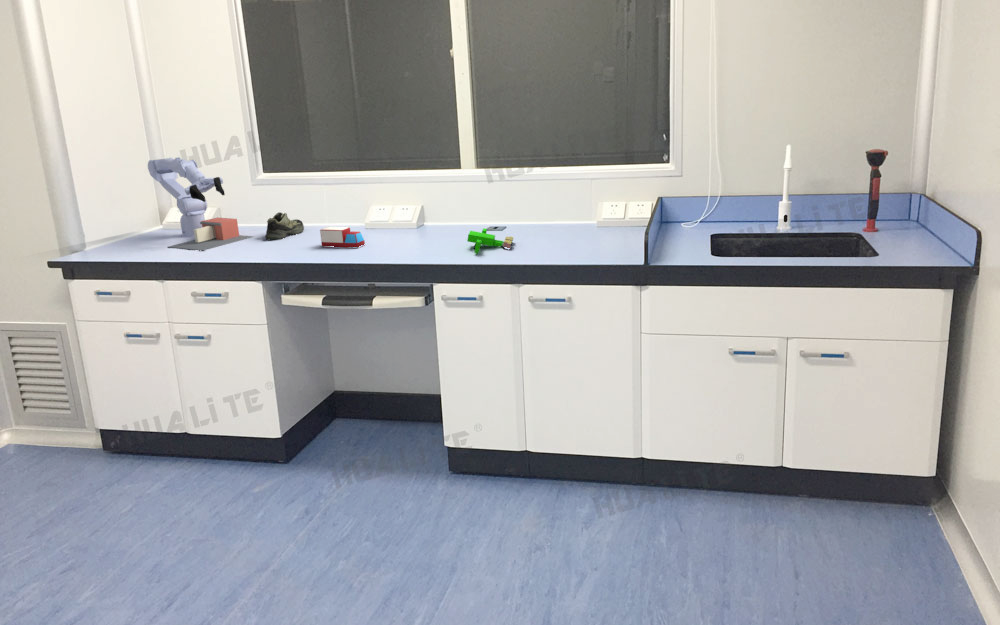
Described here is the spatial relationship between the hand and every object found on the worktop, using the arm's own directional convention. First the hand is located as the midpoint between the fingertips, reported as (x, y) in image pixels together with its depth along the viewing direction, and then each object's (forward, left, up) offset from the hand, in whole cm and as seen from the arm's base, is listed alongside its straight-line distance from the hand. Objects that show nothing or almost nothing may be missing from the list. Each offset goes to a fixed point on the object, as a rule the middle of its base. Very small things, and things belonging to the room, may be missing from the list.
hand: (214, 196), depth 309 cm
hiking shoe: (+16, +19, -18) cm, 31 cm away
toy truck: (+53, +10, -18) cm, 57 cm away
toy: (+106, +25, -18) cm, 111 cm away
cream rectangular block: (-6, -1, -17) cm, 18 cm away
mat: (-3, -2, -18) cm, 18 cm away
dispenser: (-6, +6, -17) cm, 19 cm away
